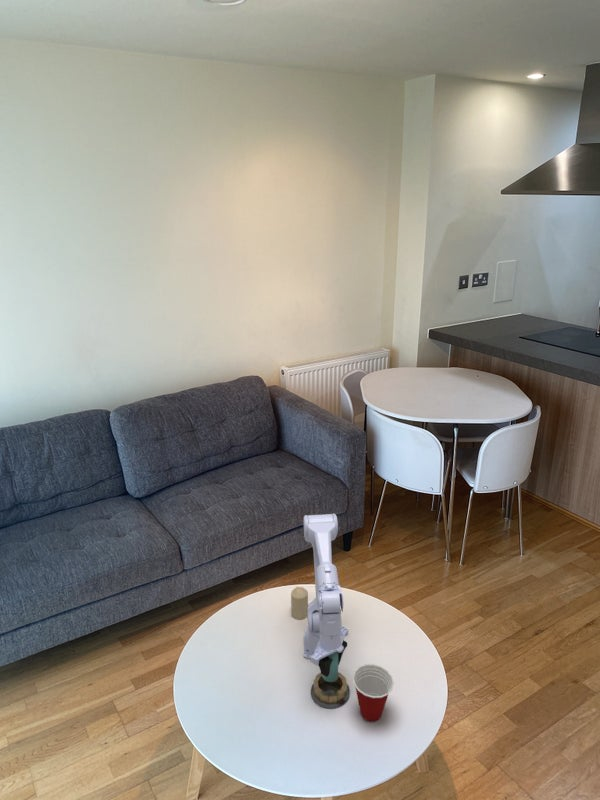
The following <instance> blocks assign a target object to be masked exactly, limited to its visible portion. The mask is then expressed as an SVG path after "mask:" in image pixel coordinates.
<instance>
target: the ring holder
mask: <svg viewBox="0 0 600 800" xmlns="http://www.w3.org/2000/svg"><path fill="white" fill-rule="evenodd" d="M315 675H316V676H315V677H314V678H313V682H312V684H311V687H310V697H311V699H312V701H313V702H314V703H315V704H316V705H317V706H319V707H320V708H324V709H329V710H333V709H339V708H341V707H343V706H344V705H345V704H347V703H348V701H349V698H350V696H351V689H350V686H349V685H348V681H347V678H346V677H345V676H344V675H343V674H342V673H341V672H339V671H338V679H337V680H336V681H334V682H327V681H325V680H324V679H323V677H322V674H321V672H319V673H317V674H315Z"/></svg>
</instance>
